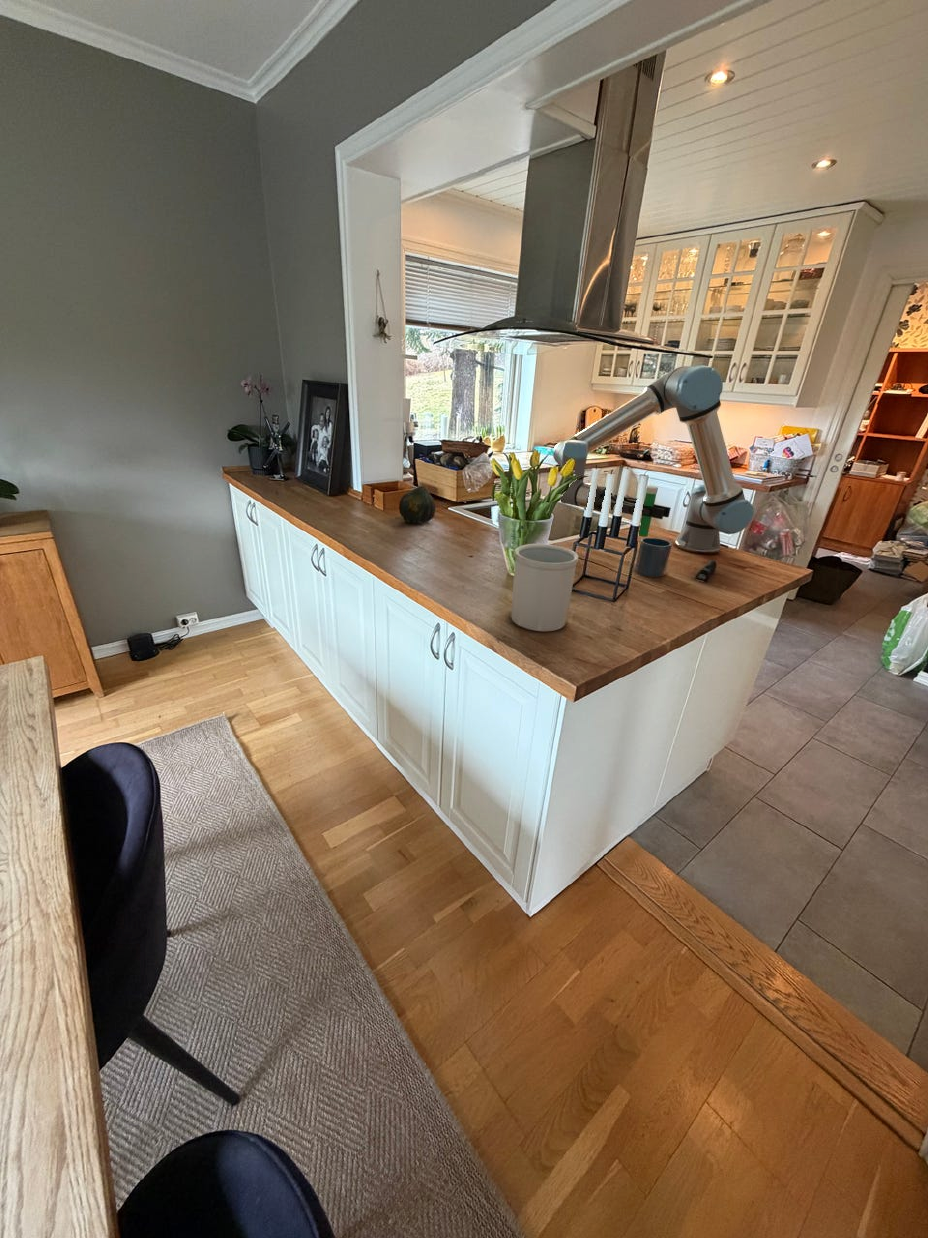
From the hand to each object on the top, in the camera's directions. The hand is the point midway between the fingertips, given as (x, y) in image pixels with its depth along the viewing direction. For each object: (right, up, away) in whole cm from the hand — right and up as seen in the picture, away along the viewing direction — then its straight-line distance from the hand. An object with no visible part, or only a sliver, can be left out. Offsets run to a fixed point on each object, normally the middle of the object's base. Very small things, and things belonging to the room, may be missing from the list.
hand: (665, 513), depth 135 cm
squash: (-76, +11, +64) cm, 100 cm away
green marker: (-4, -5, +7) cm, 9 cm away
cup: (+3, -14, +20) cm, 25 cm away
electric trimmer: (+21, -16, +20) cm, 33 cm away
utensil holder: (-38, -30, -14) cm, 50 cm away
